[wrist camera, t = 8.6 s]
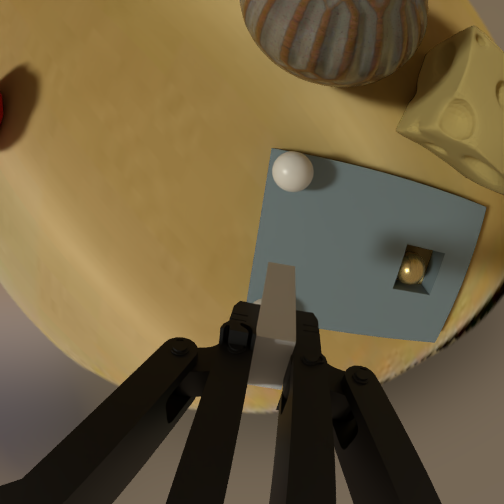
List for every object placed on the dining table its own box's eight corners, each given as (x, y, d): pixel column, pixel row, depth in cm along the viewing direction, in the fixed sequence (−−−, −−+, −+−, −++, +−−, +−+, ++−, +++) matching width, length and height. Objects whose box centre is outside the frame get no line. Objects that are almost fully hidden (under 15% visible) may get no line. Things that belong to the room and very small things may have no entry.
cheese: (392, 132, 23) (442, 128, 14) (424, 47, 19) (473, 15, 10) (468, 185, 23) (528, 206, 14) (496, 103, 19) (555, 99, 10)
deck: (273, 148, 25) (271, 148, 23) (474, 202, 24) (486, 207, 21) (247, 302, 31) (244, 315, 29) (427, 330, 30) (434, 342, 27)
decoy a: (276, 148, 23) (274, 147, 20) (315, 155, 23) (318, 156, 20) (270, 185, 24) (267, 190, 21) (308, 192, 24) (310, 198, 21)
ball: (415, 259, 23) (435, 261, 24) (394, 246, 26) (415, 248, 27) (403, 290, 24) (424, 290, 25) (384, 275, 27) (405, 275, 28)
